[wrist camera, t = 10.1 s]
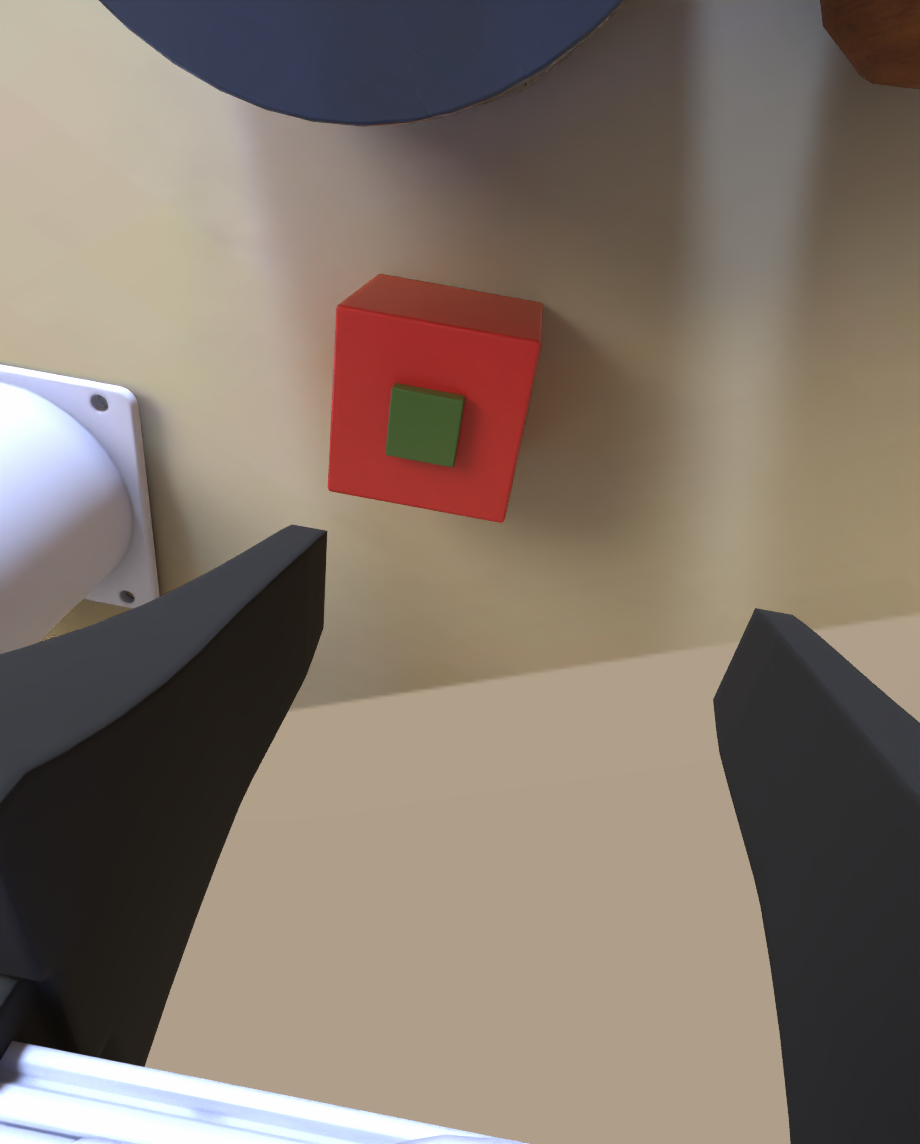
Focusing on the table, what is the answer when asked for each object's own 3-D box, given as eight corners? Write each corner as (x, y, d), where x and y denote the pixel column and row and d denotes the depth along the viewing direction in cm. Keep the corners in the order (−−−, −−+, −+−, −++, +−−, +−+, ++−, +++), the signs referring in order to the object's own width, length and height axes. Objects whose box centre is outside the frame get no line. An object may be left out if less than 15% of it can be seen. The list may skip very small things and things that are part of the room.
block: (365, 431, 20) (321, 499, 16) (378, 272, 18) (330, 308, 14) (511, 458, 20) (502, 532, 16) (543, 302, 18) (541, 346, 14)
